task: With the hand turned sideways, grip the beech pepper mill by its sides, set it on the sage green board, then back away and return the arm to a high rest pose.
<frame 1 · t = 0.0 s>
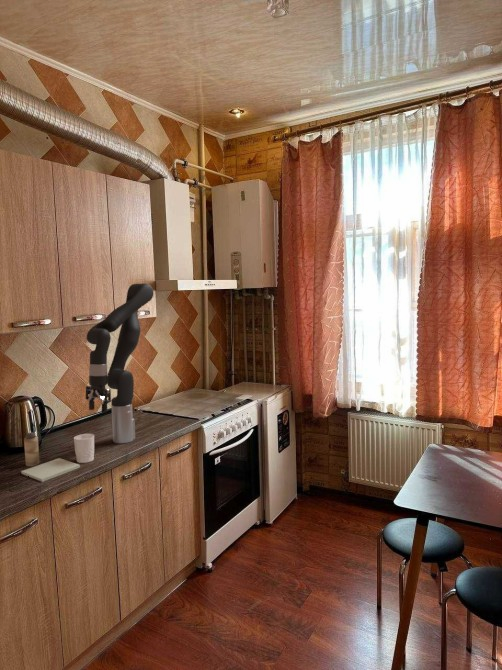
hand: (97, 411, 197), 17 cm above the worktop, tool pointing down, fingers open, 8 cm apart
pepper mill: (32, 463, 183), on the worktop
board: (51, 470, 176), on the worktop
white cup: (85, 460, 186), on the worktop
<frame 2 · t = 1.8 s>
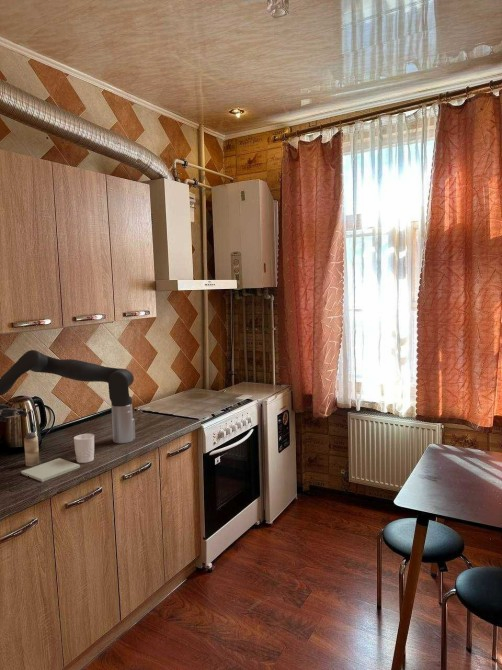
hand: (15, 416, 186), 18 cm above the worktop, tool horizontal, fingers open, 8 cm apart
nothing on the worktop moved.
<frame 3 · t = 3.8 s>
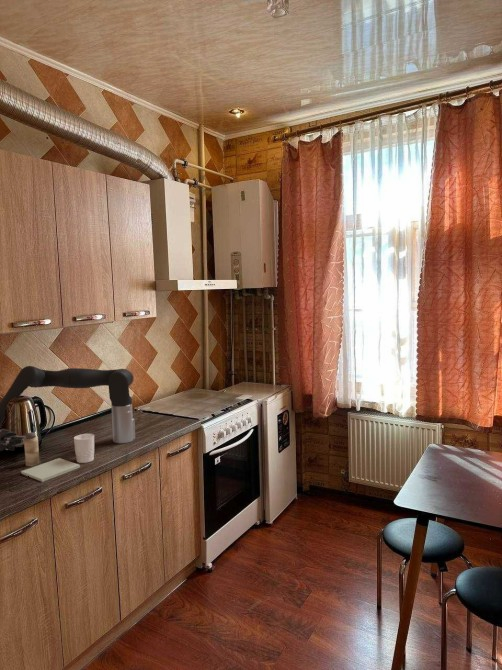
hand: (24, 444, 185), 7 cm above the worktop, tool horizontal, fingers open, 8 cm apart
nothing on the worktop moved.
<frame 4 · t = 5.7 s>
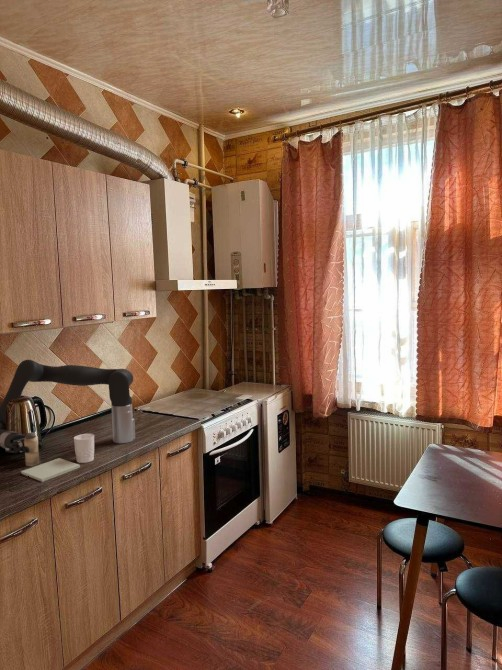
hand: (35, 448, 181), 7 cm above the worktop, tool horizontal, fingers closed on pepper mill, 5 cm apart
pepper mill: (32, 463, 183), on the worktop, touching gripper
everything else where it was.
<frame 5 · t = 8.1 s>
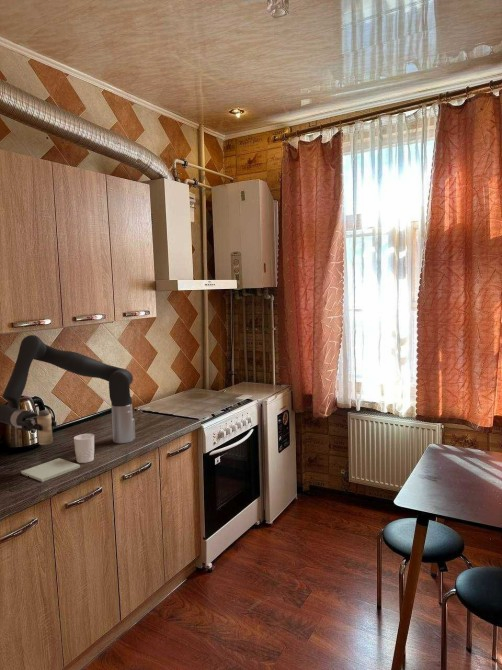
hand: (48, 426, 174), 18 cm above the worktop, tool horizontal, fingers closed on pepper mill, 5 cm apart
pepper mill: (45, 442, 176), point 11 cm above the worktop, touching gripper
everything else where it was.
when the fingers open (9 cm above the worktop, at t = 10.4 s): pepper mill drops 1 cm, resting on board.
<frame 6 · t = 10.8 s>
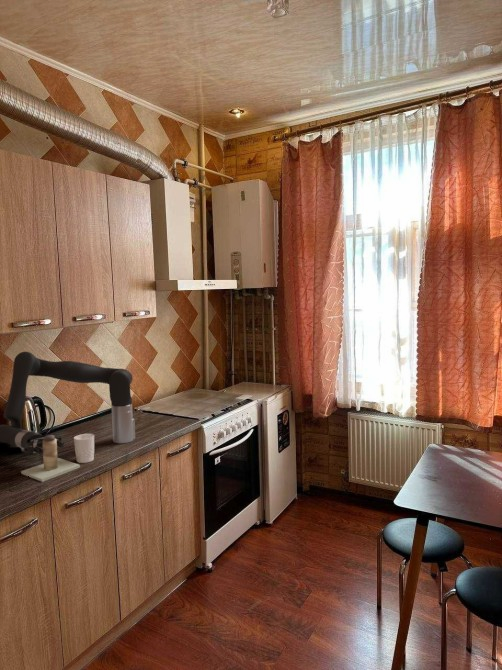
hand: (52, 447, 174), 10 cm above the worktop, tool horizontal, fingers open, 8 cm apart
pepper mill: (50, 467, 176), point 1 cm above the worktop, touching board
everything else where it was.
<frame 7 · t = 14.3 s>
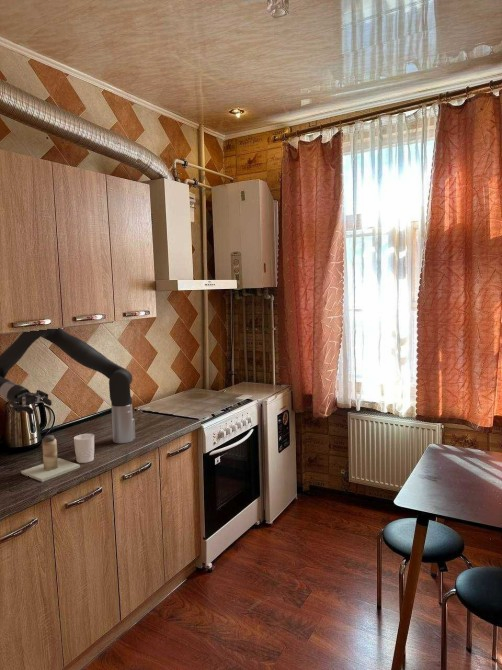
hand: (42, 407, 181), 23 cm above the worktop, tool tilted 75°, fingers open, 8 cm apart
nothing on the worktop moved.
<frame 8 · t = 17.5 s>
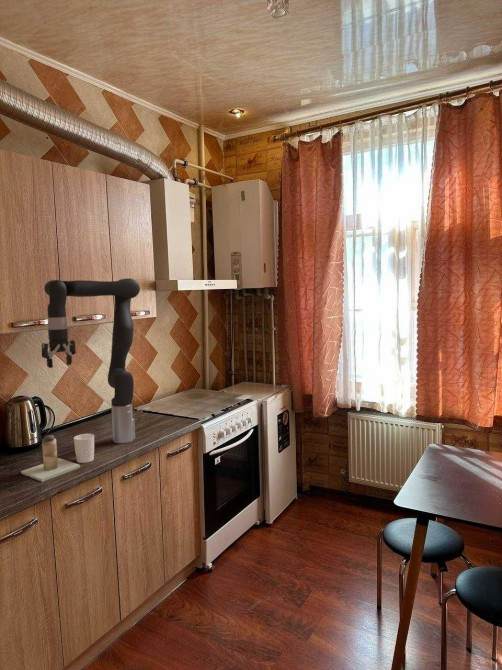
hand: (59, 366, 190), 38 cm above the worktop, tool pointing down, fingers open, 8 cm apart
nothing on the worktop moved.
at the end: pepper mill inside the target area on the board (0.1 cm from its centre), point 1.0 cm above the board's base; pepper mill tilted 1°; the gripper is holding nothing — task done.
